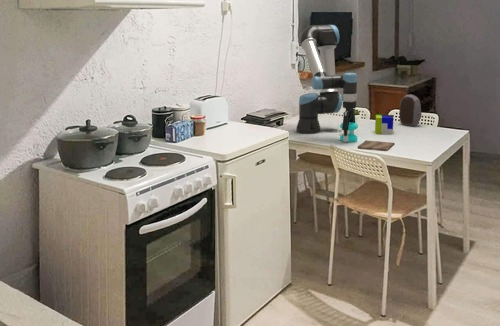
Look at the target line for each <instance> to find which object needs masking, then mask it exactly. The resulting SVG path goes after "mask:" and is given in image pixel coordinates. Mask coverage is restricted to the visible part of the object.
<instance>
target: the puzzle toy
mask: <svg viewBox="0 0 500 326" xmlns="http://www.w3.org/2000/svg"><path fill="white" fill-rule="evenodd" d="M374 124H375V125H374V126H375V127H374V129H375V130H374V133H375V135H393V134H394V133H393V132H394V116H393V114H375V123H374Z"/></svg>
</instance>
